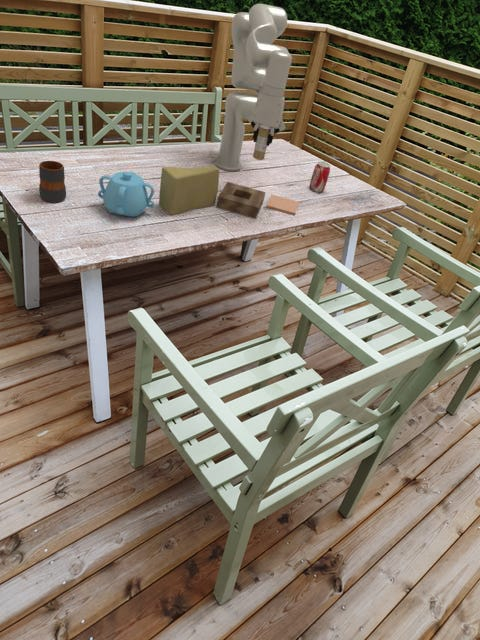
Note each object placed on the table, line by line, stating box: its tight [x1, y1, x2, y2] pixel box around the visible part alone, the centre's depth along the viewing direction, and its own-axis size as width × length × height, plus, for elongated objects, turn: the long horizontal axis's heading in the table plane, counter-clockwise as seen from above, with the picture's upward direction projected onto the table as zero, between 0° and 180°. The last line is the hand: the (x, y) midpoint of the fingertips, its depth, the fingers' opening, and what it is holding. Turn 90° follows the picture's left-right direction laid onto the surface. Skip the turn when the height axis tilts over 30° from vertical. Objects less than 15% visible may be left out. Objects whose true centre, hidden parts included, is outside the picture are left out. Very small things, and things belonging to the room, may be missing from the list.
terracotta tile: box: [265, 194, 300, 216], centre depth 200 cm, size 12×12×1 cm
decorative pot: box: [97, 170, 155, 218], centre depth 168 cm, size 16×16×14 cm
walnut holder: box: [215, 181, 266, 219], centre depth 192 cm, size 16×16×4 cm
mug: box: [38, 160, 67, 204], centre depth 166 cm, size 9×12×12 cm
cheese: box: [158, 165, 220, 216], centre depth 179 cm, size 22×10×15 cm, turn 125°
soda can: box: [309, 161, 331, 193], centre depth 217 cm, size 7×7×12 cm
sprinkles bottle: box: [252, 124, 271, 161], centre depth 179 cm, size 5×5×14 cm
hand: (261, 142), depth 179 cm, fingers closed on sprinkles bottle, 4 cm apart
